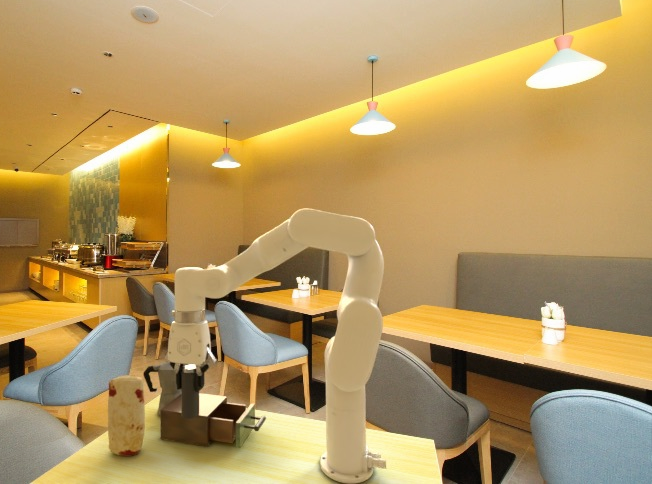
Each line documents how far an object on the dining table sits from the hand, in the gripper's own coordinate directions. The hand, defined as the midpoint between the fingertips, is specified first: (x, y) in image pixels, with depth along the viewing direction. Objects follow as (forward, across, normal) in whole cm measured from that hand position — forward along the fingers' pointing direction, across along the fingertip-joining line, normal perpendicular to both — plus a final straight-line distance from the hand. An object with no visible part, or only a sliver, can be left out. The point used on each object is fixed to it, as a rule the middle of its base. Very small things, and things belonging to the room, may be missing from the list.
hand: (190, 387), depth 90 cm
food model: (+18, -18, -2) cm, 26 cm away
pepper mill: (+7, 0, 0) cm, 7 cm away
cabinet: (+18, -6, +12) cm, 23 cm away
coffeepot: (+18, -20, +20) cm, 34 cm away
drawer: (+17, +6, +12) cm, 22 cm away
